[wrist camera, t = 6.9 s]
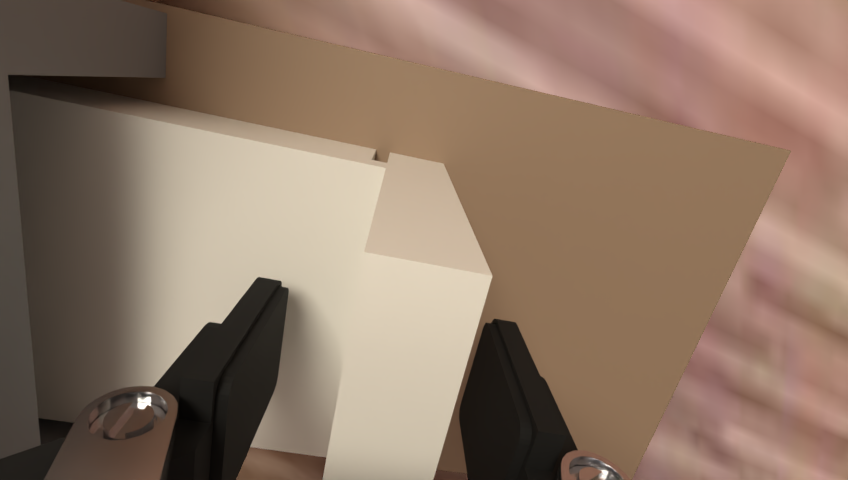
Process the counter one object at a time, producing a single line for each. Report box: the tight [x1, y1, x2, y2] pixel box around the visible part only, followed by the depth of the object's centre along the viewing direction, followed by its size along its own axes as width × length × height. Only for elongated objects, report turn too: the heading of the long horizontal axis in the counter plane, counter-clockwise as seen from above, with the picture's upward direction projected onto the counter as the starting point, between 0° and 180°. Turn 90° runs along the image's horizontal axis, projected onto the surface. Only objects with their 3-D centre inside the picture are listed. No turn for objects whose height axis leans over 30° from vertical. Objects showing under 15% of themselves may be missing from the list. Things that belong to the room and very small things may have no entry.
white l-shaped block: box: [8, 75, 492, 480], centre depth 10 cm, size 14×9×8 cm, turn 78°
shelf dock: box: [0, 0, 791, 480], centre depth 11 cm, size 26×14×7 cm, turn 78°
